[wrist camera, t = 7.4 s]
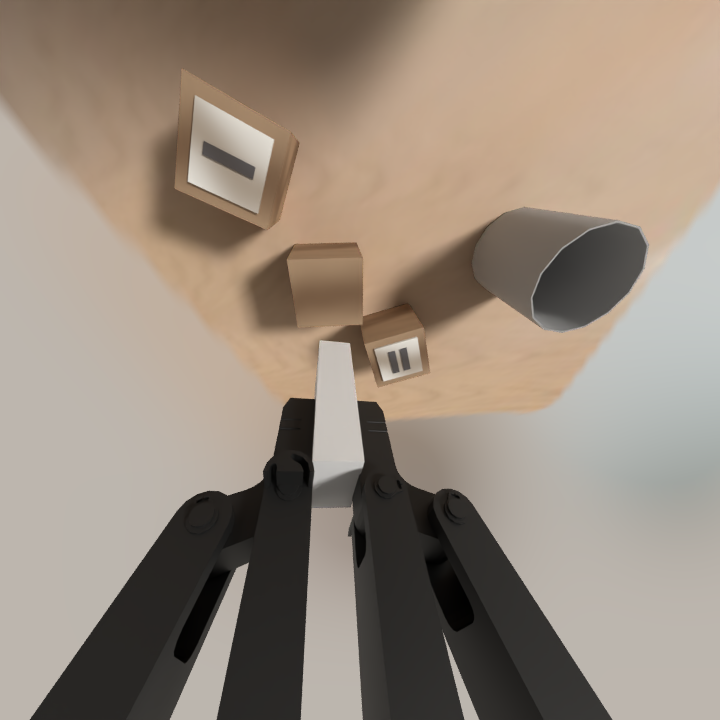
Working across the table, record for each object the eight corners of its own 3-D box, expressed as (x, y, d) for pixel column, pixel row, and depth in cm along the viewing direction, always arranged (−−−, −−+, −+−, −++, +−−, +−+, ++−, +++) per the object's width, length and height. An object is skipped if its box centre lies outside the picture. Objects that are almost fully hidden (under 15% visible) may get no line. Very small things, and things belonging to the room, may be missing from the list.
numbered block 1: (219, 97, 19) (178, 66, 14) (299, 143, 21) (290, 130, 16) (209, 186, 22) (172, 188, 17) (279, 219, 24) (266, 230, 18)
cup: (470, 298, 30) (523, 342, 22) (472, 221, 25) (539, 242, 17) (543, 279, 30) (624, 317, 21) (558, 197, 25) (670, 206, 17)
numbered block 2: (358, 317, 30) (364, 345, 25) (408, 302, 30) (424, 328, 25) (370, 357, 34) (378, 389, 28) (415, 344, 33) (431, 374, 28)
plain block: (294, 243, 25) (286, 259, 20) (356, 242, 25) (362, 257, 21) (303, 302, 28) (297, 327, 24) (356, 299, 29) (362, 324, 24)
